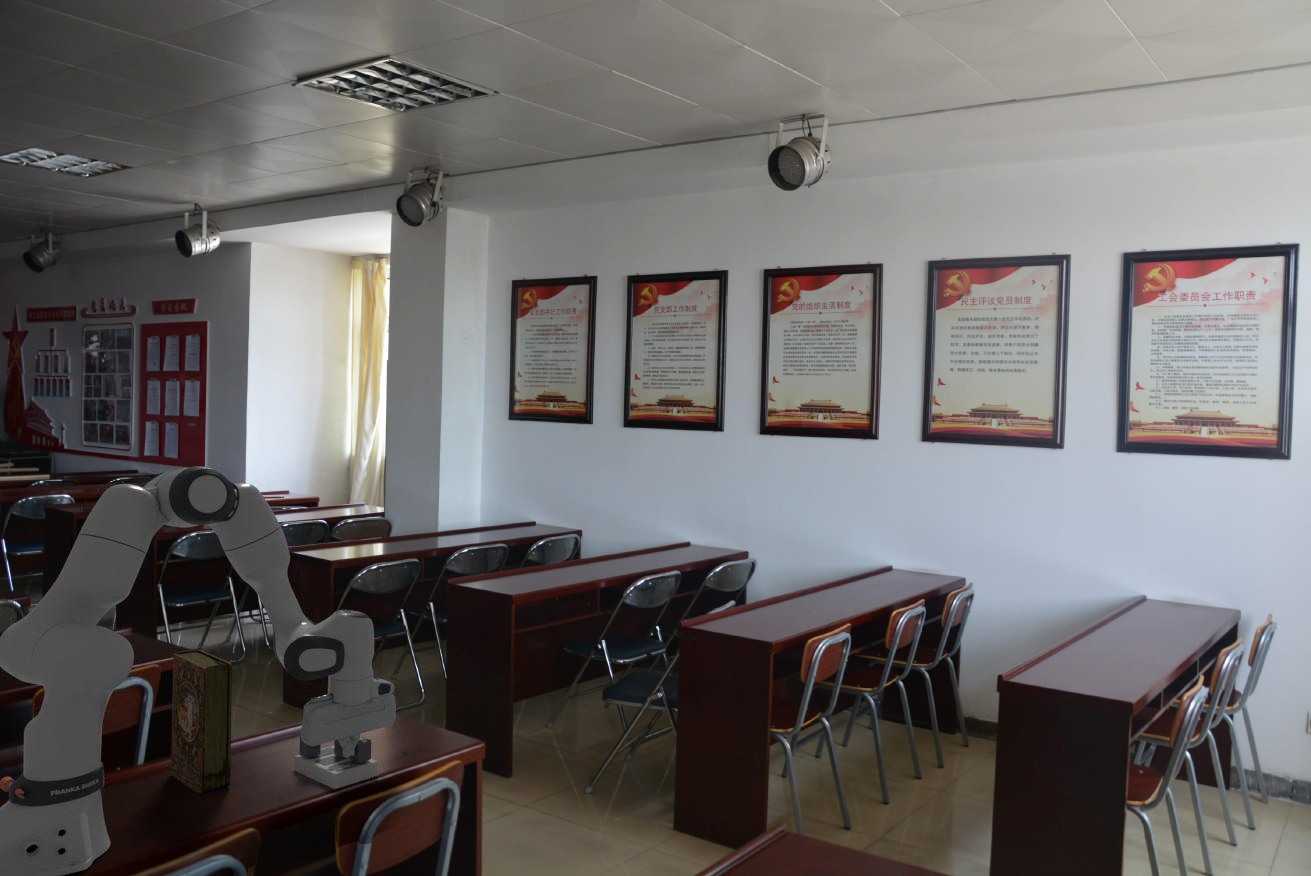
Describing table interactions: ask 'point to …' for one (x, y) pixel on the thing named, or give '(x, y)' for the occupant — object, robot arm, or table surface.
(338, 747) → the tab middle
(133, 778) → the table surface
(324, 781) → the switch panel
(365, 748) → the tab
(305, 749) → the tab
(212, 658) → the book
